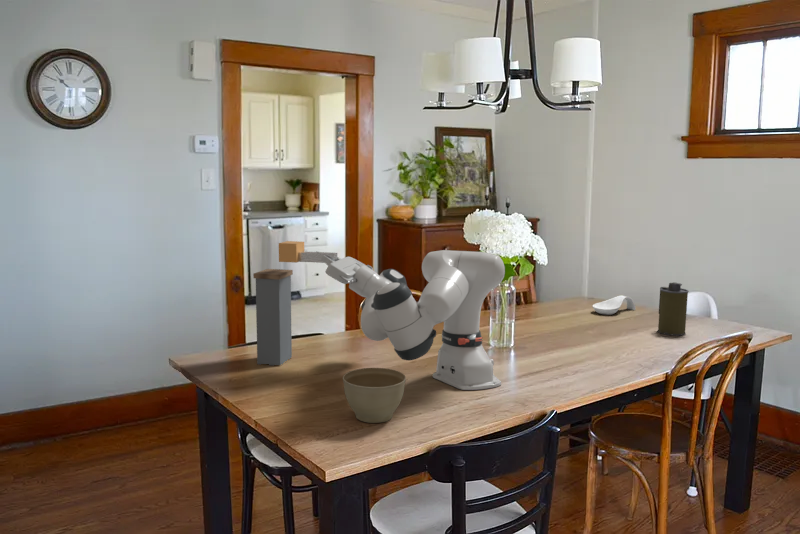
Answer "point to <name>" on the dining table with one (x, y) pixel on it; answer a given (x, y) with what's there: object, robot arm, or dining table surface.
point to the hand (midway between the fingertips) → (324, 256)
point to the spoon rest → (613, 305)
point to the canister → (672, 310)
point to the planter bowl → (374, 393)
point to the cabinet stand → (273, 316)
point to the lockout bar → (300, 253)
